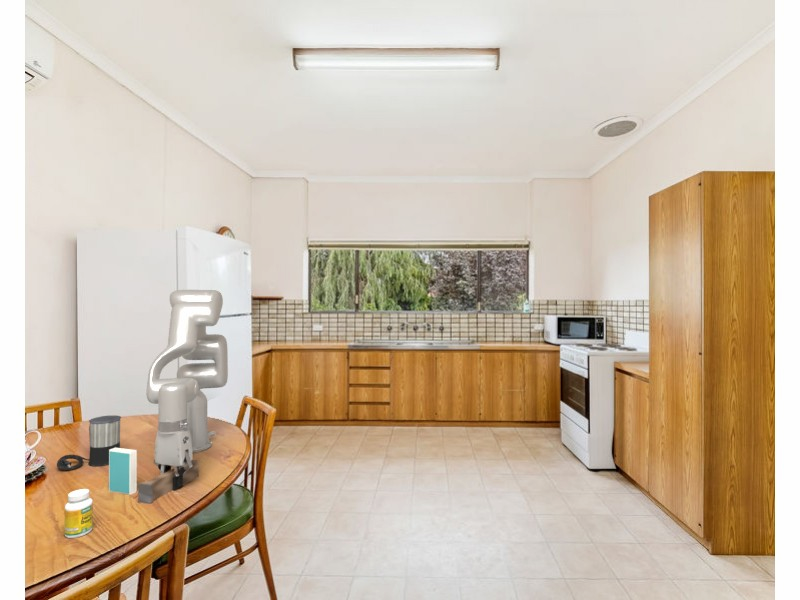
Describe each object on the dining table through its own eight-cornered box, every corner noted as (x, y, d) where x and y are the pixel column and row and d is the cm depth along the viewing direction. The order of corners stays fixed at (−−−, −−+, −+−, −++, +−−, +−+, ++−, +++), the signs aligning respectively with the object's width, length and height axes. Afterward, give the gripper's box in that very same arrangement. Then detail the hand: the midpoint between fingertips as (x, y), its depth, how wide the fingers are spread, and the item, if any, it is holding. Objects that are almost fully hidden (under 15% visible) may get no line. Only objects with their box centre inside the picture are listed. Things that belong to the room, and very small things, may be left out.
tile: (115, 488, 125) (115, 447, 125) (136, 491, 123) (136, 450, 123) (108, 491, 123) (108, 449, 123) (129, 495, 121) (130, 452, 121)
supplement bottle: (75, 527, 104) (75, 487, 104) (97, 526, 104) (98, 487, 104) (58, 539, 98) (58, 497, 98) (82, 538, 99) (82, 497, 99)
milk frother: (127, 458, 149) (127, 416, 149) (83, 476, 134) (83, 428, 134) (96, 454, 153) (96, 413, 153) (49, 471, 138) (50, 425, 138)
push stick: (190, 475, 135) (190, 459, 135) (200, 476, 133) (200, 460, 133) (138, 502, 117) (138, 483, 117) (149, 504, 115) (149, 485, 115)
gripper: (205, 424, 127) (204, 486, 127) (161, 419, 131) (161, 479, 131) (185, 431, 120) (185, 497, 119) (140, 426, 124) (139, 489, 124)
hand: (172, 487), depth 125 cm, fingers open, 3 cm apart
